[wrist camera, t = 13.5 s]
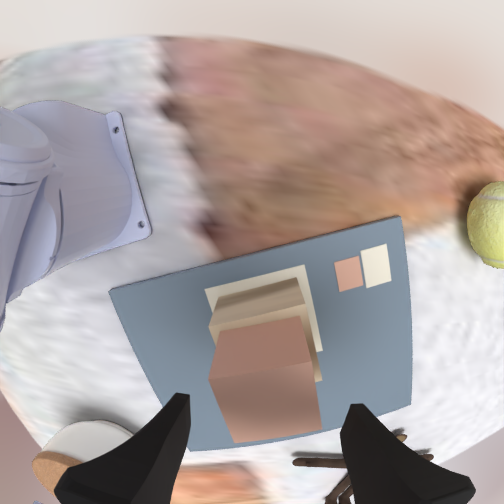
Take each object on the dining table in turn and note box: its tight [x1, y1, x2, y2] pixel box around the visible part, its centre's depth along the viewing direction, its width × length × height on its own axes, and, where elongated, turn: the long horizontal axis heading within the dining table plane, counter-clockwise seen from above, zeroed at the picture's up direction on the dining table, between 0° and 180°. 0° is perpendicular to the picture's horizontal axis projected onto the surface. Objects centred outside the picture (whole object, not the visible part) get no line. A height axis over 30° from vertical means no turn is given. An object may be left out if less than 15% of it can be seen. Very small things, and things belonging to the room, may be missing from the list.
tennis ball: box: [467, 181, 504, 269], centre depth 17 cm, size 6×7×7 cm
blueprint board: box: [108, 215, 412, 452], centre depth 23 cm, size 18×22×1 cm
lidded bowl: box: [32, 420, 134, 498], centre depth 21 cm, size 13×13×11 cm
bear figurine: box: [292, 434, 434, 504], centre depth 26 cm, size 18×4×14 cm
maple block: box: [208, 277, 322, 382], centre depth 19 cm, size 6×6×4 cm
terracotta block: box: [208, 316, 322, 443], centre depth 15 cm, size 4×4×4 cm
